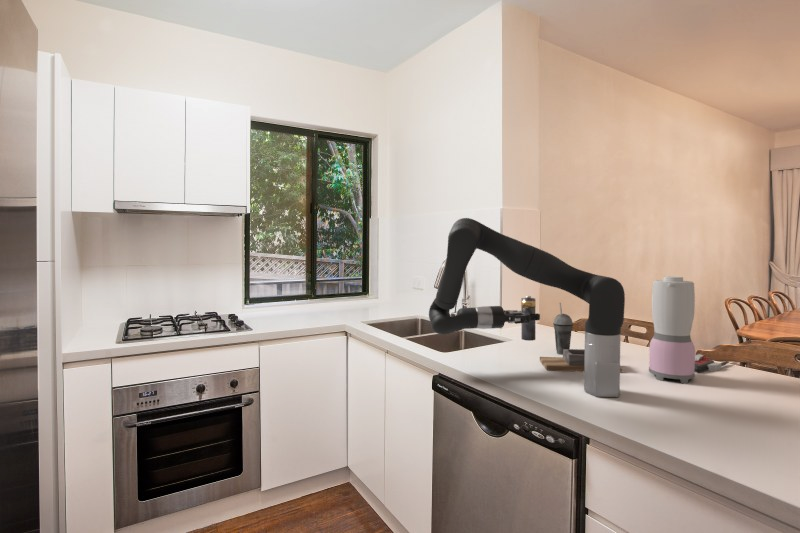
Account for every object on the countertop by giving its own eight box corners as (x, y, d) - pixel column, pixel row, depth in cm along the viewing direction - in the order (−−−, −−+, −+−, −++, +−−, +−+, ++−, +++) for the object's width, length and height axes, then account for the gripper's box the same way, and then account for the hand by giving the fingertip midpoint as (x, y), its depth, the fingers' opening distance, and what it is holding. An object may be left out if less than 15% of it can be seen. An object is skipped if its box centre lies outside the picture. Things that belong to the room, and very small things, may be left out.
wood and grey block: (622, 372, 138) (622, 349, 138) (546, 370, 141) (547, 347, 141) (608, 362, 150) (609, 341, 150) (539, 360, 153) (539, 339, 153)
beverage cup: (574, 356, 159) (575, 304, 158) (554, 355, 161) (554, 303, 160) (570, 351, 166) (571, 301, 166) (551, 350, 168) (551, 301, 167)
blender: (696, 386, 124) (699, 278, 123) (648, 379, 131) (650, 277, 129) (691, 372, 138) (693, 275, 137) (648, 367, 144) (650, 274, 143)
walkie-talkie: (705, 376, 135) (731, 366, 145) (705, 363, 135) (731, 354, 145) (675, 369, 142) (702, 361, 153) (675, 357, 142) (702, 349, 153)
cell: (536, 340, 141) (536, 297, 140) (522, 340, 142) (522, 297, 141) (534, 337, 146) (534, 295, 145) (520, 337, 146) (520, 295, 146)
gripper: (495, 309, 134) (545, 307, 136) (481, 303, 148) (527, 302, 151) (495, 332, 135) (545, 330, 137) (481, 324, 149) (527, 322, 151)
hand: (535, 315), depth 144 cm, fingers closed on cell, 4 cm apart
